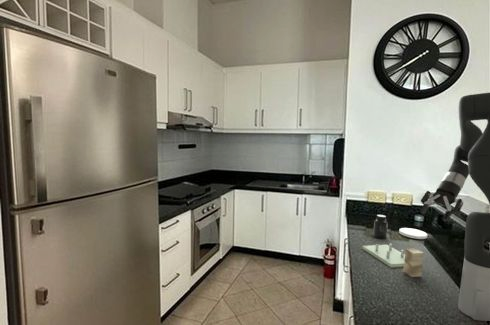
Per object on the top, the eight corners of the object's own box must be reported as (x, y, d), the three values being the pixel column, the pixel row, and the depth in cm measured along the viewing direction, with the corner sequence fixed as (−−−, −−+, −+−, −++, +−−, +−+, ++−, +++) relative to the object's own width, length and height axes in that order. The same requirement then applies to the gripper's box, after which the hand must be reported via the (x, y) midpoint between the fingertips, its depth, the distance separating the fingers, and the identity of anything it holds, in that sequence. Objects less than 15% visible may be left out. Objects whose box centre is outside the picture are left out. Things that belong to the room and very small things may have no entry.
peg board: (418, 265, 127) (419, 255, 126) (391, 267, 124) (392, 257, 123) (386, 247, 146) (387, 238, 146) (362, 248, 143) (363, 240, 143)
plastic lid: (412, 241, 157) (413, 237, 157) (393, 232, 171) (393, 228, 170) (433, 239, 161) (433, 235, 161) (412, 231, 174) (412, 227, 174)
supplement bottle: (388, 236, 162) (390, 216, 161) (384, 239, 157) (386, 218, 156) (375, 233, 167) (377, 213, 166) (371, 236, 162) (373, 215, 161)
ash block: (421, 276, 117) (423, 252, 116) (411, 277, 116) (414, 253, 115) (412, 271, 121) (414, 248, 120) (403, 271, 120) (405, 248, 119)
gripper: (430, 176, 126) (412, 206, 124) (467, 184, 114) (448, 218, 111) (436, 185, 130) (419, 215, 127) (473, 194, 117) (454, 227, 115)
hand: (433, 216), depth 119 cm, fingers open, 8 cm apart
